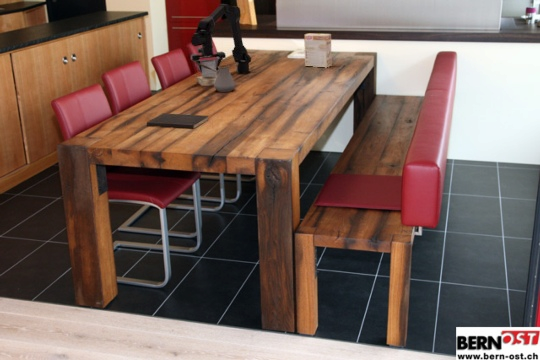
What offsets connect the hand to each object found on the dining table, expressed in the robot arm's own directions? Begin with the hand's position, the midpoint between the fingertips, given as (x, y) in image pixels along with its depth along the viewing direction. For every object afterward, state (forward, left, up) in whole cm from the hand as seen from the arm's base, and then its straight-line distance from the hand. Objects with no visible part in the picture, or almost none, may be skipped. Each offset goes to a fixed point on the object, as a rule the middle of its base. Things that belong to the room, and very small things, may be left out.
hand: (209, 71), depth 390 cm
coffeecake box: (-71, -16, -7) cm, 73 cm away
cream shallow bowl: (0, 0, -6) cm, 6 cm away
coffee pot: (+1, +20, -7) cm, 21 cm away
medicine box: (0, 0, -3) cm, 3 cm away
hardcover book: (+32, +77, -7) cm, 84 cm away
